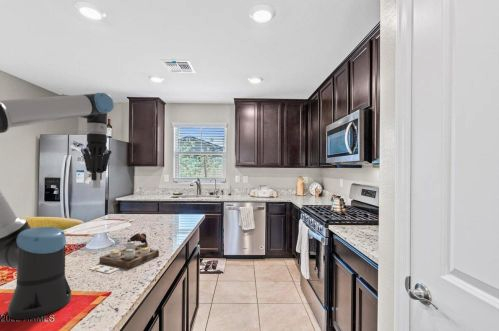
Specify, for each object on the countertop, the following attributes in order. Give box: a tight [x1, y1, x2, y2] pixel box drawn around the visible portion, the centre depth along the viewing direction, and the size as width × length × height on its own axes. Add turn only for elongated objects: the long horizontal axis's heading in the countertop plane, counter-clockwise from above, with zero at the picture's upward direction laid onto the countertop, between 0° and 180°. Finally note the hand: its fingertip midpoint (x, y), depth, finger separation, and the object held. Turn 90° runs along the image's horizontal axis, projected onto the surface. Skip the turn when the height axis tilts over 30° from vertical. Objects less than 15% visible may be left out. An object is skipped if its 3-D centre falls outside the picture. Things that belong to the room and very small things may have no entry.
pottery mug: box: [126, 232, 149, 248], centre depth 140 cm, size 12×9×8 cm
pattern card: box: [88, 264, 120, 275], centre depth 107 cm, size 5×12×1 cm, turn 67°
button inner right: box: [124, 249, 135, 260], centre depth 114 cm, size 4×4×4 cm
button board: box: [99, 246, 160, 269], centre depth 119 cm, size 18×18×2 cm
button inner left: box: [109, 250, 121, 258], centre depth 117 cm, size 4×4×4 cm
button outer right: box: [140, 247, 151, 255], centre depth 122 cm, size 4×4×4 cm
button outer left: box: [125, 241, 137, 250], centre depth 125 cm, size 4×4×4 cm
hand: (96, 187), depth 110 cm, fingers closed
